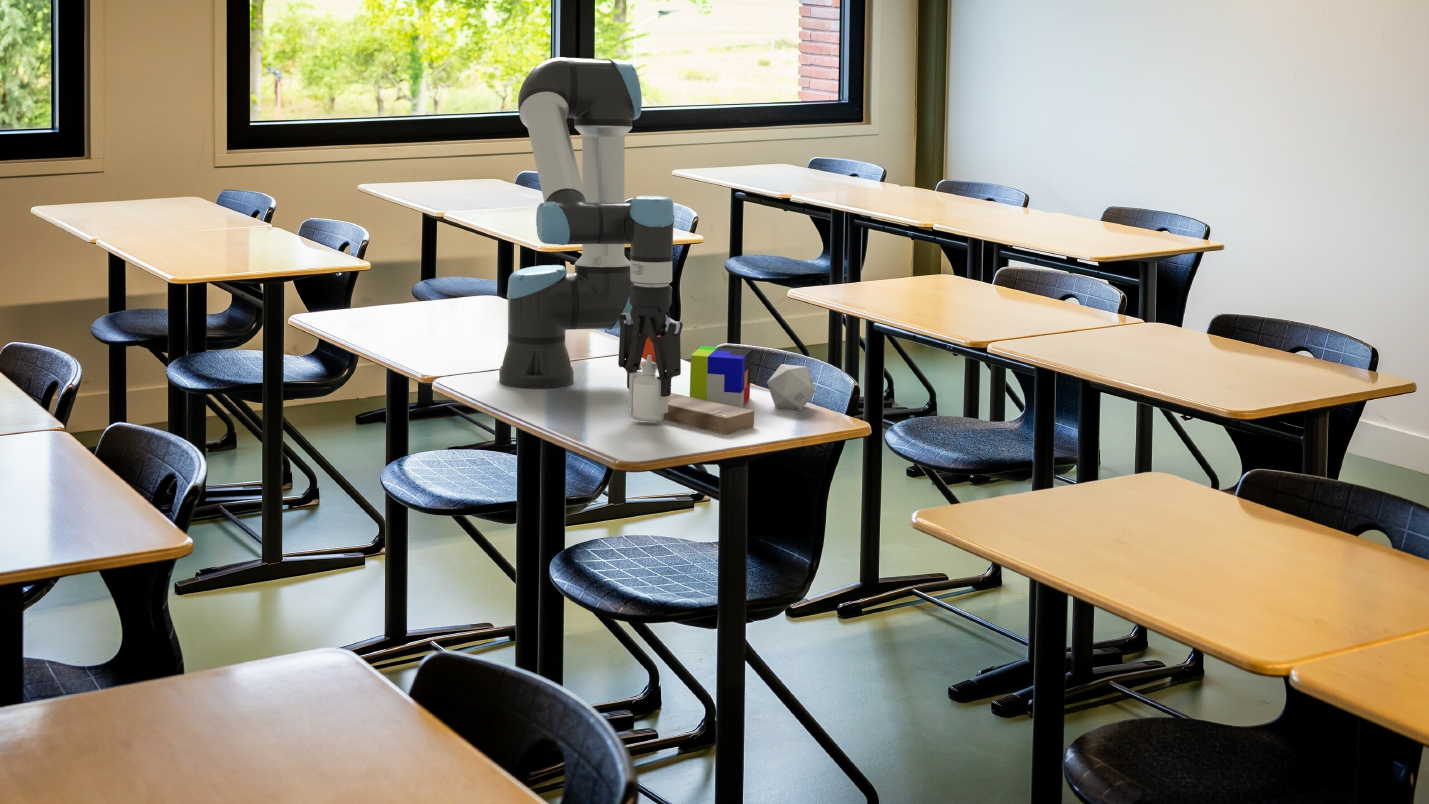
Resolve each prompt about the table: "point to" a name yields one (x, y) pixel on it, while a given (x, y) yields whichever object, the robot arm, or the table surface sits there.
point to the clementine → (649, 350)
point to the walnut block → (707, 414)
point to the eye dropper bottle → (645, 394)
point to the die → (791, 386)
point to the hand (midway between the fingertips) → (648, 410)
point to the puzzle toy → (721, 375)
